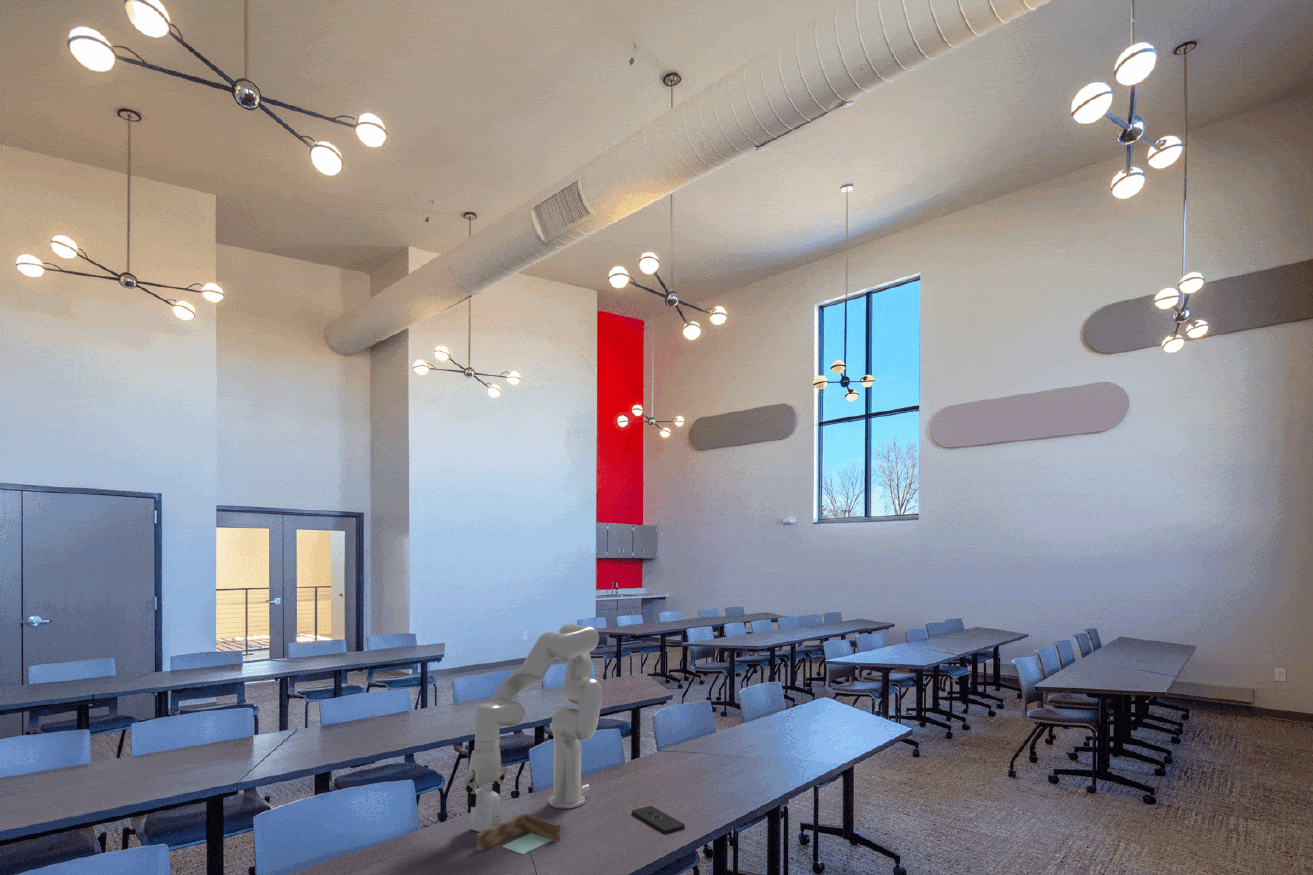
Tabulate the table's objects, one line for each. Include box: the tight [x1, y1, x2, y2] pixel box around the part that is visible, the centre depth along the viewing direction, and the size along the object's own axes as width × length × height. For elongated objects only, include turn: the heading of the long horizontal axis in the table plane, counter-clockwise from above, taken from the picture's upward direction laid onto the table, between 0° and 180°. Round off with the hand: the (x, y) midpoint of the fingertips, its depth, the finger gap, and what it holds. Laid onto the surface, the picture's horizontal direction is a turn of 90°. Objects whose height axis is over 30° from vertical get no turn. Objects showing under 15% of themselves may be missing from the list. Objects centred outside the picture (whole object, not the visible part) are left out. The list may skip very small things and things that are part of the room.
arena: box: [476, 813, 561, 852], centre depth 214 cm, size 20×15×4 cm
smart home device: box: [631, 805, 686, 835], centre depth 231 cm, size 8×2×20 cm
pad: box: [501, 833, 553, 856], centre depth 214 cm, size 12×9×1 cm
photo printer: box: [469, 787, 502, 833], centre depth 225 cm, size 10×4×12 cm, turn 61°
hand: (483, 802), depth 225 cm, fingers open, 9 cm apart
